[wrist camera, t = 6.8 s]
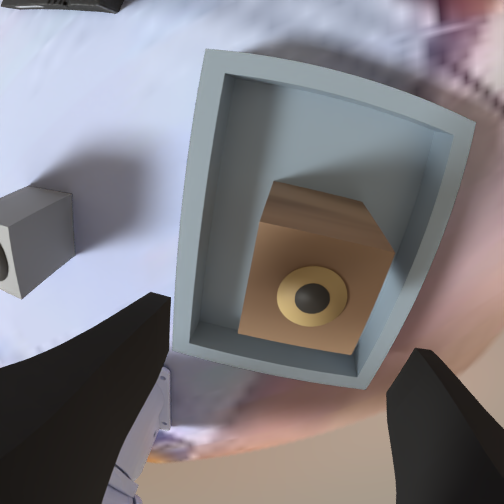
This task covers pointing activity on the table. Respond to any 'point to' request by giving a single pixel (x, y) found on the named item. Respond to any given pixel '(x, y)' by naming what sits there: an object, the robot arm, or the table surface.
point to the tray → (312, 177)
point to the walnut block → (314, 270)
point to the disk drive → (66, 5)
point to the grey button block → (34, 237)
